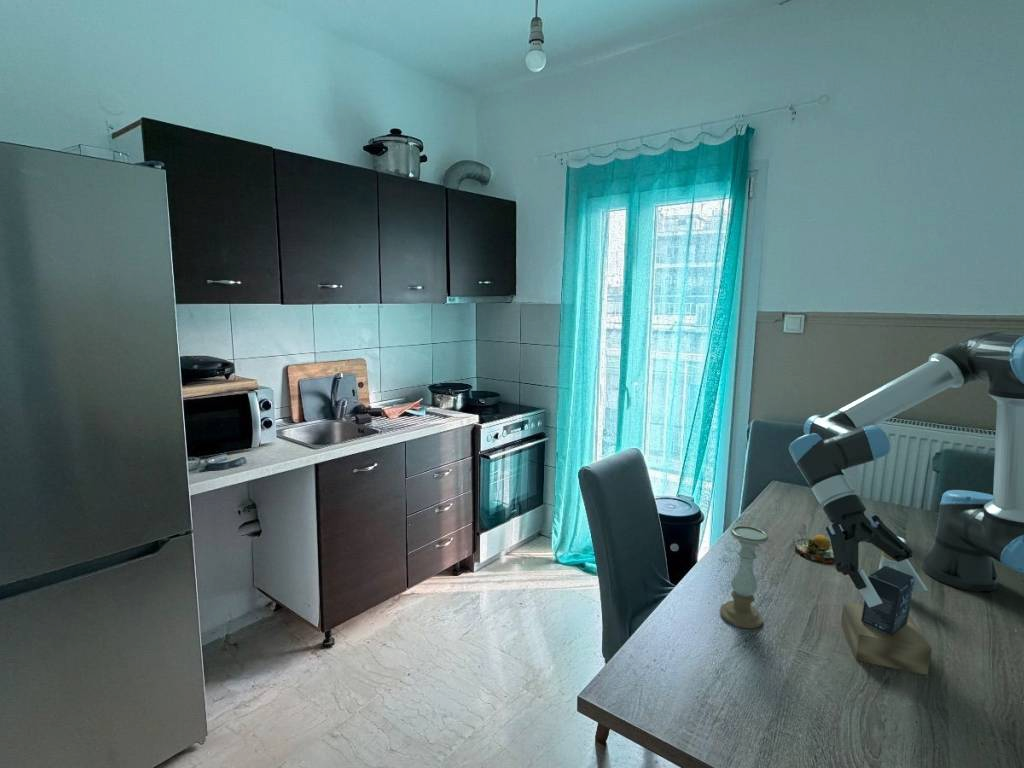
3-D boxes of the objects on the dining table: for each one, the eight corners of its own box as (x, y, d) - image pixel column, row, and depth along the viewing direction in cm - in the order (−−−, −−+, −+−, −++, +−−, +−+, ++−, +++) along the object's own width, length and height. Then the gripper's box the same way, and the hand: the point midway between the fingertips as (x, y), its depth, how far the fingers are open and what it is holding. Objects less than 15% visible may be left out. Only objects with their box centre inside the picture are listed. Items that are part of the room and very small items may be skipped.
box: (891, 637, 105) (899, 587, 103) (860, 622, 109) (867, 574, 107) (908, 624, 109) (916, 576, 107) (877, 610, 114) (884, 564, 112)
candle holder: (759, 610, 122) (769, 527, 119) (764, 632, 114) (774, 544, 111) (719, 602, 125) (726, 521, 122) (720, 623, 117) (729, 537, 114)
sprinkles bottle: (884, 582, 136) (891, 532, 134) (902, 591, 132) (910, 540, 130) (871, 585, 135) (878, 535, 133) (889, 594, 131) (897, 543, 128)
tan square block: (904, 639, 114) (908, 613, 113) (927, 676, 103) (931, 648, 102) (840, 627, 118) (843, 602, 117) (855, 661, 106) (859, 634, 105)
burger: (828, 546, 157) (831, 521, 156) (849, 565, 145) (853, 540, 144) (786, 543, 158) (788, 519, 157) (803, 562, 146) (806, 537, 145)
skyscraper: (861, 528, 169) (873, 442, 165) (836, 527, 169) (847, 441, 165) (845, 517, 178) (856, 435, 173) (821, 516, 178) (831, 434, 173)
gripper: (864, 500, 125) (923, 592, 114) (785, 514, 116) (841, 615, 105) (890, 486, 119) (955, 582, 108) (809, 499, 110) (871, 605, 99)
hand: (899, 599), depth 106 cm, fingers open, 13 cm apart
